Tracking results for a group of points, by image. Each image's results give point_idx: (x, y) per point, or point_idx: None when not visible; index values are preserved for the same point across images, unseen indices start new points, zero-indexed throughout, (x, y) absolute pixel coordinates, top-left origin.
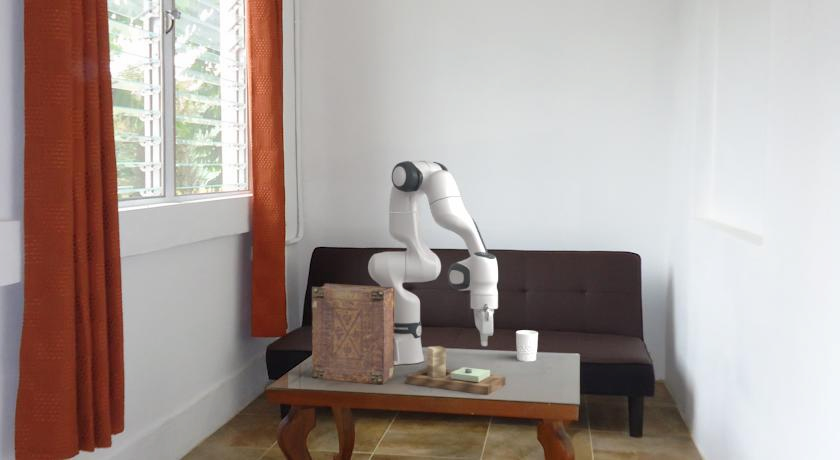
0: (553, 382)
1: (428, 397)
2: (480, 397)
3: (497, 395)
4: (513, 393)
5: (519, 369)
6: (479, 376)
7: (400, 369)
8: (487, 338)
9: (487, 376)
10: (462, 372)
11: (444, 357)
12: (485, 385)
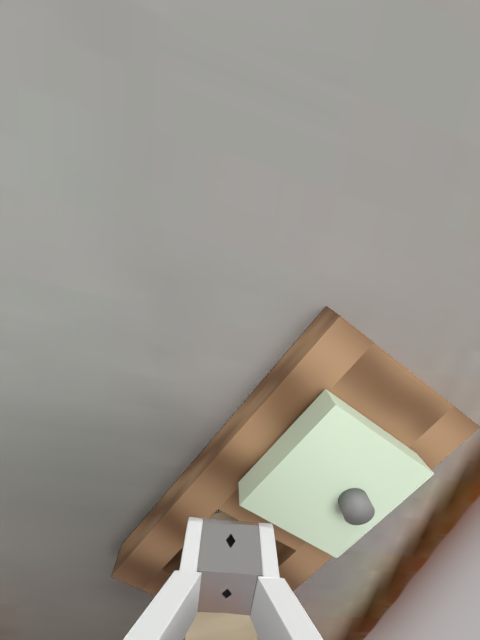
0: (343, 16)
1: (414, 564)
2: (474, 434)
3: (473, 375)
4: (471, 308)
5: (5, 137)
6: (425, 466)
7: (44, 604)
8: (306, 614)
9: (349, 406)
10: (342, 519)
11: (257, 637)
12: (460, 432)
